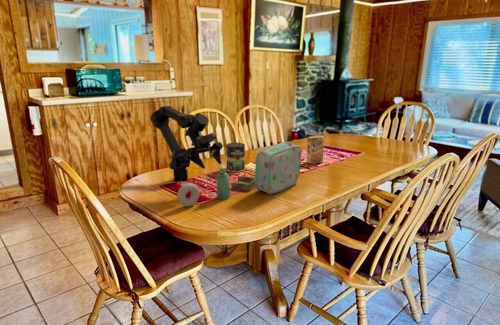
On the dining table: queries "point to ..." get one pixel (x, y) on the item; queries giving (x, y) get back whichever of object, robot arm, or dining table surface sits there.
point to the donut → (193, 197)
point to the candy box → (315, 149)
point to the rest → (244, 183)
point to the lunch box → (277, 167)
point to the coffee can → (235, 157)
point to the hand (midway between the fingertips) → (212, 166)
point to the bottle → (223, 184)
